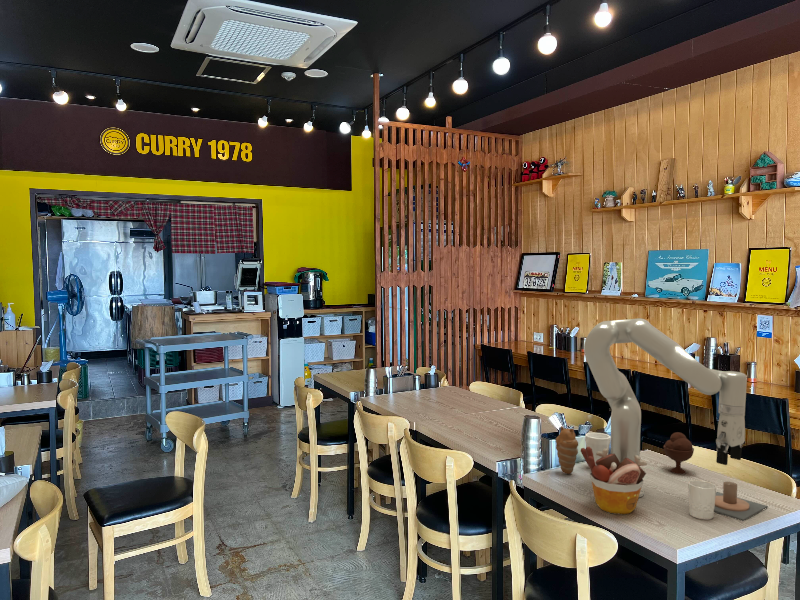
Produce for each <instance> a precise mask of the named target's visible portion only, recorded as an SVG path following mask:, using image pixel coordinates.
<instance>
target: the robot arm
mask: <svg viewBox="0 0 800 600" xmlns="http://www.w3.org/2000/svg"><path fill="white" fill-rule="evenodd" d="M626 343H627V344H628V343H633V344H634V345H635V346H637V347H638V348H640V349H641V350H642V351H644V352H646V353H647V354H648V355H649V356H651V357H652V358H653V359H655V360H656V361H658V362H659V363H660V364H661V365H663V366H664V367H665V368H667V369H669V370H670V371H671V372H673V373H674V374H675V375H677V376H678V377H679V378H680V379H682V380H683V381H684V382H686V383H687V384H688V385H690V386H691V387H693V388H694V389H695V390H697V391H698V392H699V393H701V394H704V395H708V396H712V395H715V394H718V393H719V394H718V395H719V399H718V411H717V412H718V414H719V418H718V423H717V424H718V425H717V433H716V435H717V436H716V437H717V438H716V439H715V443H716V444H715V446H716V464H719V465H724V466H728V460H729V457H730V459H734V460H738V461H741V460H742V448H743V444H744V443H745V441H746V440H745V439H746V421H745V419H746V418H745V416H746V401H747V399H746V398H747V385H748V382H747V381H748V379H747V378H748V377H747V374H745V373H744V372H741V371H740V372H739V371H733V370H728V371H727V370H726V371H722V370H718V369H713V368H708V367H706V366H705V365H703V364H702V363H700V362H699V361H698V360H696V359H695V358H694V357H693V356H691V355H690V354H689V353H688V352H687V351H686V350H685V349H684V348H683V347H682V346H681V345H680V344H679V343H678V342H676V341H675V340H674V339H672V338H671V337H669V336H667V335H666V334H665V333H664V332H662V331H661V330H659V329H658V328H657V327H655V326H654V325H653V324H651V322H649V320H647V319H644V318H630V319H629V318H628V319H616V320H615V319H614V320H603V321H601V322H599V323H597V324H596V325H595V326H594V327H593V328H592V329H591V330H590V331H589V333H588V334H587V336H586V338H585V340H584V345H583V352H584V357H585V359H586V362H587V364H588V367H589V369H590V371H591V374H592V375H593V378H594V381H595V382H596V385H597V387H598V390H599V392H600V394H601V395H602V396H603V398H605V399H606V401H607V403H608V405H609V407H610V408H611V415H610V436H611V439H610V454H615V455H616V456H617V458H618V460H619V461H620V463H621V462H622V461H623V460H624V459H625V458H628V459H630V460H632V461H634V462H636V461H635V457H634V456H635V455H638V456H639V457H640V458H641V428H642V427H641V426H642V425H641V424H642V410H641V406H640V405H641V404H640V403H639V401H638V399H637V397H636V395H635V393H634V391H633V389H632V386H631V385H630V383H629V381H628V379H627V377H626V375H625V374H624V373H623V372H621V371H619V368H618V367H617V365H616V363H615V360H614V358H613V356H612V354H611V346H613V345H614V344H626ZM729 447H730V451H729V453H730V454H729V453H728V449H729ZM728 456H729V457H728ZM639 467H641V466H639ZM644 495H645V491H644V489H643V488H642V487H641V490H640V494H639V498H641V497H643V496H644Z"/></svg>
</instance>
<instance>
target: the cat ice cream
mask: <svg viewBox="0 0 800 600" xmlns="http://www.w3.org/2000/svg"><path fill="white" fill-rule="evenodd" d="M574 430H575V429H574V428H565V427H563V425H561V426H560V432H559V434H558V436H556V438H555V440H554V441H555V444H556V446H555V449H556V451H557V452H556V453H557V454H556V455H557V458H558V464H559V466H560V470H561V472H562V473H564V474H565V475H571V474H572V473H573V472H574V468H575V465H576V461H577V457H578V456H577V455H578V453H579V449H578V446H579V441H578V439H577V437H576V436H577V435H576V433H575V431H574Z"/></svg>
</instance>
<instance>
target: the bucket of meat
mask: <svg viewBox="0 0 800 600" xmlns="http://www.w3.org/2000/svg"><path fill="white" fill-rule="evenodd" d="M609 451H610V449H609V450H608V448H605V449H603V453H602V452H601V451H598V452H597V453H596V455H598V456H601V458H600V459H598V460H597V461H596V462H595V461H594V456H593V452H592V449H591V448H590V447H587V448H585V447H582V448H580V453H581V455H582V457H583V458H584V460H585V462H586V464H587V465H588V466H587V467H588V469H589V468H590V469H589V470H590V473H589V477H590V481H591V487H592V492H593V496H594V500H595V503H596V505H597V506H598V507H599V508H600V510H601V511H604V512H606V513H608V512H609V514H612V513H613V514H612V515H621V514H622V515H628V514H630V513H632V512H633V511H634V510H635V509H636V508H637V505H638V500H639V498H640V497H639V494H640V490H641V488H642V486H643V484H644V478H645V476H646V474H647V472H646V471H645V470H643V468H642V467H645V466H647V465H648V463H647V461H646V460H644V459H641V456H640V457H639V456H638V455H635V456H634V457H635V461H636V462H634V461H632V460H630V459H628V458H625V459H624V460H623V461H622V462H621V463H620V461H619V460H618V458H617V456H616V455H615V454H611V453H609ZM607 453H608V455H607ZM595 463H596V464H595ZM639 466H640V467H639ZM641 466H642V467H641Z"/></svg>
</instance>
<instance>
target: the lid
mask: <svg viewBox="0 0 800 600" xmlns="http://www.w3.org/2000/svg"><path fill="white" fill-rule="evenodd" d="M722 485H723V487H722V493H723V496H716V497H715V506H716V507H719V508H722V509H725V510H730V511H747V510H749V503H747V502H746V501H744V500H742V499H743V498H741V499H739V498H740V497H738V483H735V482H733V481H723V484H722ZM737 497H738V498H737Z"/></svg>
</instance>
